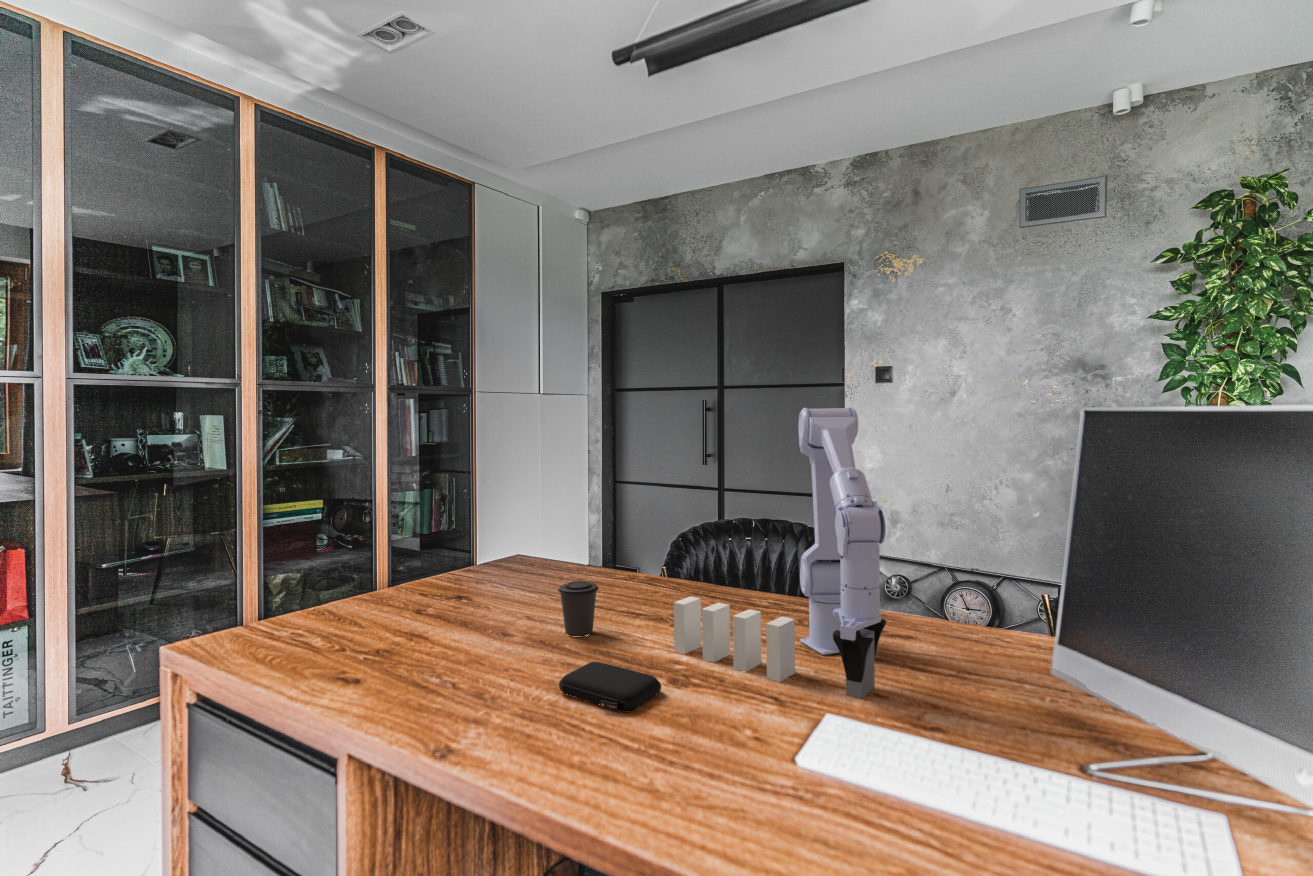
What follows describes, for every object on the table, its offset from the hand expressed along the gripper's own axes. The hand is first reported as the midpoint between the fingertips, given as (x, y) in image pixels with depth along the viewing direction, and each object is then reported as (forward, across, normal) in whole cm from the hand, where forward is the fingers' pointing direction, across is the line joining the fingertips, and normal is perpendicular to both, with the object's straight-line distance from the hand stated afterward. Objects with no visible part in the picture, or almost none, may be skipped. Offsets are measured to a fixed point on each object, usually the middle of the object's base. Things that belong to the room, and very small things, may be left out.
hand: (860, 672), depth 96 cm
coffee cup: (+3, 0, -55) cm, 55 cm away
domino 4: (+3, 0, -13) cm, 13 cm away
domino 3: (+3, -1, -19) cm, 19 cm away
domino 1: (+3, -3, -32) cm, 32 cm away
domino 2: (+3, -2, -26) cm, 26 cm away
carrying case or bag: (+3, +20, -33) cm, 39 cm away
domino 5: (+3, 0, 0) cm, 3 cm away
